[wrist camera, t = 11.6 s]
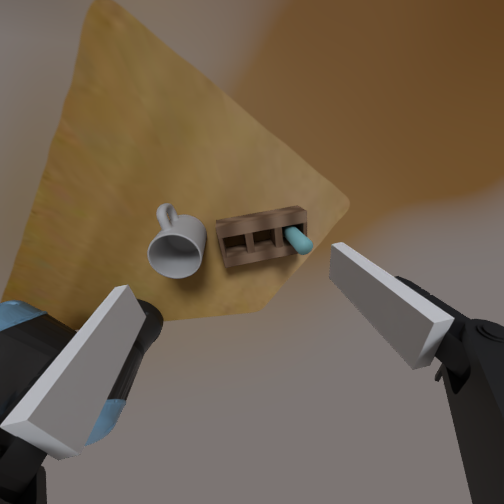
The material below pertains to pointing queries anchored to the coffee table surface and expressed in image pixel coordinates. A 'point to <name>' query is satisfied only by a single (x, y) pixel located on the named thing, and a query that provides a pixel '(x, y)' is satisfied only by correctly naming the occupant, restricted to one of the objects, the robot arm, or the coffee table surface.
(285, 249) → the hole block
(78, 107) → the coffee table surface
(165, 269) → the mug
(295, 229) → the peg
